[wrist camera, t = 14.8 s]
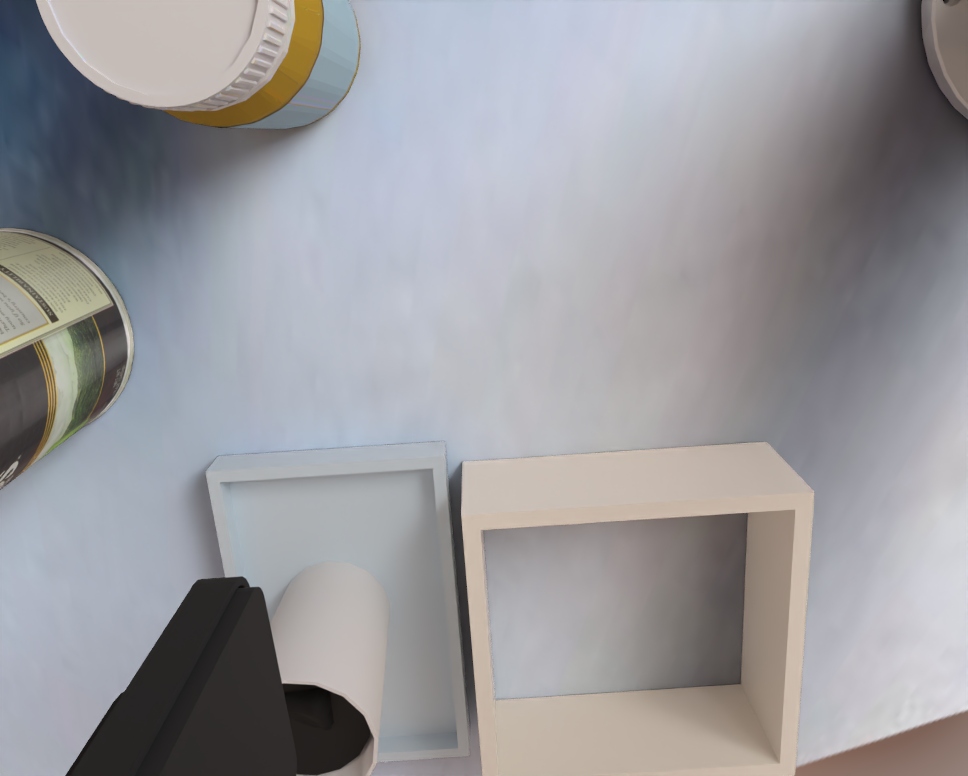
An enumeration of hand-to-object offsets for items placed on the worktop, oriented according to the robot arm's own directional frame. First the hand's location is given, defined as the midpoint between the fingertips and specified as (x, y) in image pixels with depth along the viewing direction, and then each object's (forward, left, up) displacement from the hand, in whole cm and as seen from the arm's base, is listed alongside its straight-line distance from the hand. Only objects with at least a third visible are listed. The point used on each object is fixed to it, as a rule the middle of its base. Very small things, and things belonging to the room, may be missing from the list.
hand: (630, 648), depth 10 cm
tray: (+10, +18, -29) cm, 35 cm away
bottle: (+10, -10, -29) cm, 33 cm away
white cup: (+10, +17, -29) cm, 35 cm away
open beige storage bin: (-5, +18, -29) cm, 34 cm away
